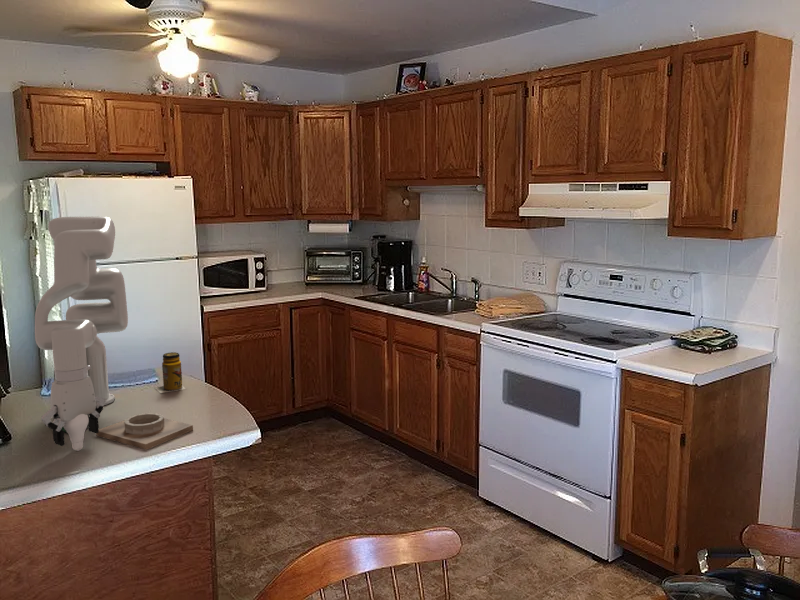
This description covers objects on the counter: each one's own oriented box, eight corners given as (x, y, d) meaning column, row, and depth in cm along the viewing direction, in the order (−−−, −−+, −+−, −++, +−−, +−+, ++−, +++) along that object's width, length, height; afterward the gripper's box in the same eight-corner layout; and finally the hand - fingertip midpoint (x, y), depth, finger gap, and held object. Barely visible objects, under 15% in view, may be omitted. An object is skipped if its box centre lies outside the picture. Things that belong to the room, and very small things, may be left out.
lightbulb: (59, 454, 172) (55, 413, 170) (75, 445, 178) (71, 405, 176) (81, 455, 171) (77, 414, 169) (96, 446, 177) (92, 406, 175)
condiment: (186, 389, 226) (184, 354, 223) (160, 393, 221) (157, 358, 219) (180, 384, 232) (177, 350, 229) (154, 388, 227) (152, 353, 225)
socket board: (96, 435, 184) (95, 421, 184) (144, 418, 198) (143, 405, 197) (146, 449, 174) (145, 435, 174) (193, 430, 188) (192, 416, 187)
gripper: (92, 364, 180) (97, 425, 183) (29, 380, 165) (36, 446, 168) (110, 368, 176) (115, 430, 179) (48, 385, 161) (54, 452, 164)
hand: (77, 438), depth 174 cm, fingers open, 9 cm apart
